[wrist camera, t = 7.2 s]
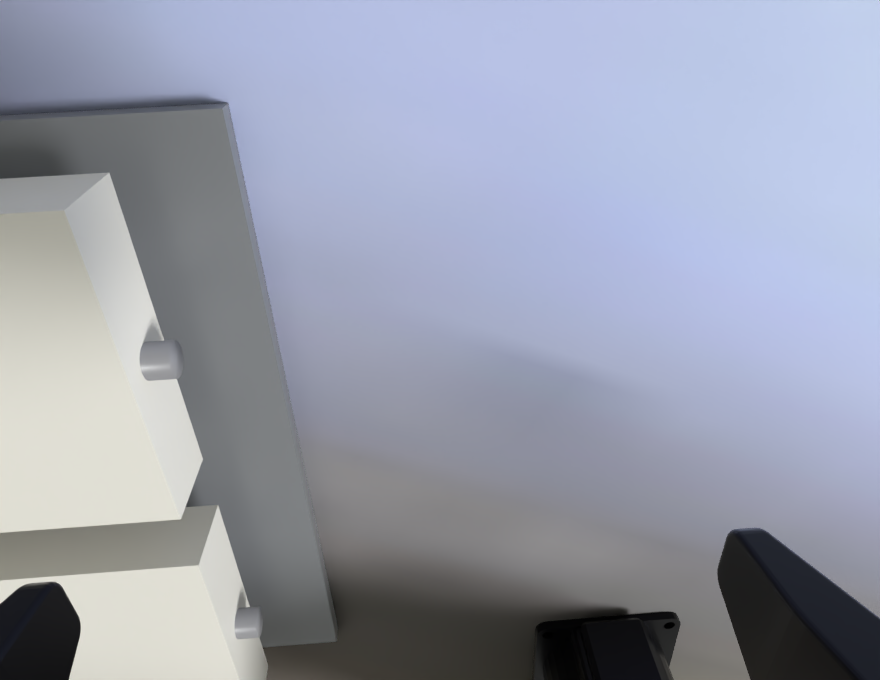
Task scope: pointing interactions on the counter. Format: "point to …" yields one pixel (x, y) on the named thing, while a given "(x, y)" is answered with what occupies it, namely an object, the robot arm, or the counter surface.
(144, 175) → the switch base
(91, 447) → the rocker
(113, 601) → the block
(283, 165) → the counter surface
